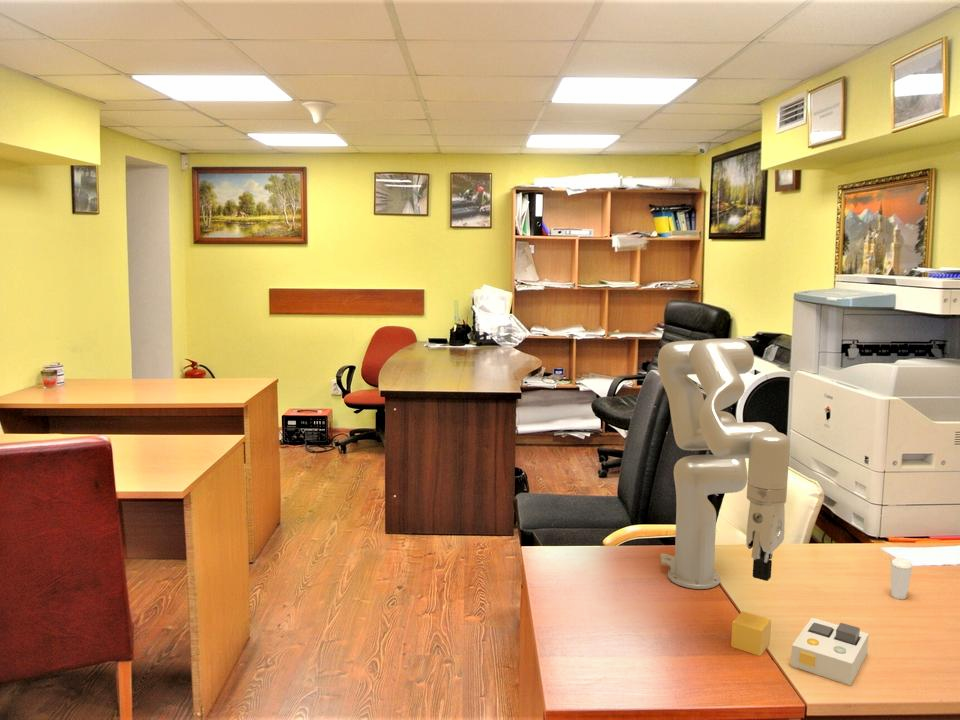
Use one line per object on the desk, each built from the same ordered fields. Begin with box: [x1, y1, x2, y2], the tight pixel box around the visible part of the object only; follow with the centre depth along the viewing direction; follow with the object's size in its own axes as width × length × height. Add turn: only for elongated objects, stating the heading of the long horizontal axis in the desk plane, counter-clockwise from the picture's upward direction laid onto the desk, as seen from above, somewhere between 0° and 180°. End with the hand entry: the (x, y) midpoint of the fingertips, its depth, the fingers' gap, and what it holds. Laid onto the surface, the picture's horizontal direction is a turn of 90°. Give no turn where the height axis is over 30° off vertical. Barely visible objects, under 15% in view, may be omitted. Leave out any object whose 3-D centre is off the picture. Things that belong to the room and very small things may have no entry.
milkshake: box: [889, 556, 913, 600], centre depth 180 cm, size 5×5×10 cm
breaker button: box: [835, 622, 861, 646], centre depth 153 cm, size 4×4×4 cm
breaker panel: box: [790, 617, 870, 687], centre depth 153 cm, size 11×14×5 cm
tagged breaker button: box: [809, 623, 833, 638], centre depth 157 cm, size 4×4×4 cm
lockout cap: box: [730, 610, 772, 657], centre depth 159 cm, size 6×6×6 cm
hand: (761, 577), depth 157 cm, fingers closed
